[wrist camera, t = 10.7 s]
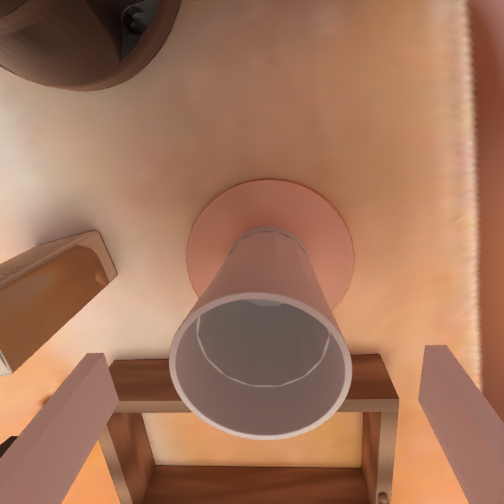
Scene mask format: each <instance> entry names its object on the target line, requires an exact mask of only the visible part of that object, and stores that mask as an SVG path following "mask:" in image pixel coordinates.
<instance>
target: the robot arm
mask: <svg viewBox="0 0 504 504" xmlns="http://www.w3.org/2000/svg"><path fill="white" fill-rule="evenodd" d="M179 3H180V0H0V67H2V68H4V69H5V70H7V71H9V72H11V73H13V74H15V75H17V76H19V77H22V78H24V79H26V80H29V81H32V82H34V83H37V84H41V85H45V86H50V87H55V88H61V89H67V90H73V91H95V90H101V89H105V88H109V87H112V86H115V85H118V84H120V83H122V82H124V81H126V80H128V79H129V78H131V77H132V76H134V75H135V74H137V73H138V72H139V71H140V70H142V69H143V68H144V67H145V66H146V65H147V64H148V63H149V62H150V61H151V60H152V58H153V57H154V56H155V55H156V54H157V52H158V51H159V49H160V48H161V46H162V45H163V43H164V41H165V40H166V38H167V36H168V34H169V32H170V30H171V27H172V25H173V23H174V20H175V17H176V14H177V11H178V7H179ZM418 400H419V402H420V404H421V406H422V408H423V410H424V413H425V415H426V417H427V419H428V421H429V423H430V425H431V427H432V429H433V431H434V433H435V435H436V437H437V439H438V441H439V443H440V445H441V447H442V449H443V451H444V453H445V455H446V457H447V459H448V461H449V463H450V465H451V467H452V470H453V472H454V474H455V476H456V478H457V480H458V482H459V484H460V486H461V488H462V490H463V492H464V494H465V496H466V498H467V500H468V502H469V504H504V423H503V422H502V421H501V419H500V418H499V416H498V415H497V414H496V412H495V411H494V410H493V409H492V407H491V406H490V404H489V403H488V402H487V400H486V399H485V397H484V396H483V395H482V393H481V392H480V391H479V389H478V388H477V386H476V385H475V384H474V382H473V381H472V380H471V378H470V377H469V376H468V374H467V373H466V372H465V370H464V369H463V367H462V366H461V365H460V363H459V362H458V361H457V359H456V358H455V357H454V355H453V354H452V352H451V351H450V350H449V348H448V347H447V346H446V345H426V346H425V350H424V358H423V366H422V374H421V382H420V390H419V398H418ZM118 403H119V399H118V396H117V393H116V390H115V387H114V384H113V381H112V377H111V374H110V371H109V368H108V365H107V362H106V359H105V355H104V353H87V354H86V355H85V357H84V358H83V359H82V360H81V361H80V363H79V364H78V365H77V366H76V367H75V369H74V370H73V371H72V372H71V373H70V375H69V376H68V377H67V378H66V379H65V381H64V382H63V383H62V384H61V385H60V387H59V388H58V389H57V390H56V392H55V393H54V394H53V395H52V396H51V398H50V399H49V400H48V401H47V402H46V404H45V405H44V406H43V407H42V408H41V410H40V411H39V412H38V413H37V414H36V416H35V417H34V418H33V419H32V421H31V422H30V423H29V424H28V425H27V427H26V428H25V429H24V430H23V431H22V433H21V434H20V435H19V436H11V437H10V438H8V439H7V440H6V441H5V442H3V443H2V444H1V445H0V504H61V503H62V501H63V499H64V498H65V496H66V494H67V492H68V491H69V489H70V487H71V485H72V484H73V482H74V480H75V478H76V477H77V475H78V473H79V471H80V470H81V468H82V466H83V464H84V463H85V461H86V459H87V457H88V456H89V454H90V452H91V450H92V449H93V447H94V445H95V443H96V442H97V440H98V438H99V436H100V435H101V433H102V431H103V429H104V428H105V426H106V424H107V422H108V421H109V419H110V417H111V415H112V414H113V412H114V410H115V408H116V407H117V405H118Z"/></svg>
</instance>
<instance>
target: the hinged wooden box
mask: <svg viewBox="0 0 504 504" xmlns="http://www.w3.org/2000/svg"><path fill="white" fill-rule="evenodd" d="M350 356H351V361H352V380H351V385H350V388H349V391H348V394H347V396H346V398H345V400H344V402H343V403H342V405H341V406H340V408H339V409H338V410H337V411H336V412H363V439H362V466H361V469H360V468H289V467H219V466H155V462H154V458H153V455H152V451H151V448H150V444H149V440H148V437H147V433H146V430H145V426H144V422H143V419H142V415H141V413H174V412H192V411H191V410H190V409H189V408H188V407H187V406H186V404H185V403H184V402H183V401H182V399H181V398H180V396H179V395H178V393H177V391H176V389H175V387H174V384H173V382H172V379H171V375H170V369H169V359H153V360H114V361H113V363H112V364H111V366H110V367H109V371H110V374H111V377H112V381H113V384H114V387H115V390H116V393H117V396H118V399H119V403H118V405H117V407H116V408H115V410H114V412H113V414H112V415H111V417H110V419H109V421H108V422H107V424H106V426H105V428H104V429H103V431H102V433H101V435H100V436H99V438H98V440H99V443H100V446H101V449H102V452H103V454H104V457H105V460H106V463H107V466H108V469H109V472H110V474H111V477H112V480H113V483H114V486H115V489H116V492H117V494H118V497H119V500H120V503H121V504H390V501H391V490H392V478H393V466H394V455H395V443H396V431H397V420H398V408H399V397H398V395H397V393H396V390H395V388H394V386H393V384H392V381H391V379H390V377H389V374H388V372H387V370H386V368H385V365H384V363H383V361H382V358H381V356H380V354H377V355H350Z"/></svg>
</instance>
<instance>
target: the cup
mask: <svg viewBox="0 0 504 504" xmlns="http://www.w3.org/2000/svg"><path fill="white" fill-rule="evenodd" d="M169 369H170V375H171V379H172V382H173V384H174V387H175V389H176V391H177V393H178V395H179V396H180V398H181V399H182V401H183V402H184V403H185V404H186V406H187V407H188V408H189V409H190V410H191V411H192V412H193V413H194V414H195V415H196V416H198V417H199V418H200V419H202V420H203V421H204V422H206V423H207V424H209V425H211V426H213V427H214V428H216V429H218V430H221V431H223V432H226V433H228V434H231V435H234V436H238V437H242V438H248V439H255V440H278V439H285V438H290V437H294V436H297V435H301V434H303V433H306V432H308V431H310V430H312V429H314V428H316V427H318V426H320V425H321V424H323V423H324V422H325V421H327V420H328V419H329V418H330V417H331V416H332V415H333V414H334V413H335V412H336V411H337V410H338V409H339V408H340V406H341V405H342V403H343V402H344V400H345V398H346V396H347V394H348V391H349V388H350V385H351V380H352V361H351V356H350V352H349V349H348V346H347V344H346V342H345V340H344V338H343V335H342V333H341V331H340V329H339V327H338V324H337V322H336V320H335V318H334V316H333V313H332V311H331V309H330V307H329V305H328V303H327V300H326V298H325V296H324V293H323V291H322V289H321V286H320V284H319V281H318V279H317V277H316V274H315V272H314V270H313V267H312V265H311V263H310V260H309V255H308V252H307V250H306V248H305V246H304V244H303V243H302V241H301V240H300V239H299V238H298V237H297V236H296V235H294V234H293V233H291V232H290V231H288V230H286V229H283V228H280V227H276V226H260V227H256V228H253V229H251V230H249V231H247V232H245V233H244V234H242V235H241V236H240V237H239V238H238V239H237V240H236V241H235V243H234V244H233V246H232V248H231V250H230V252H229V255H228V257H227V258H226V260H225V261H224V263H223V264H222V266H221V268H220V269H219V271H218V272H217V274H216V275H215V277H214V278H213V280H212V282H211V283H210V285H209V286H208V288H207V289H206V290H205V291H204V293H203V294H202V295H201V297H200V298H199V300H198V301H197V302H196V304H195V305H194V307H193V308H192V310H191V311H190V313H189V314H188V316H187V317H186V318H185V320H184V321H183V323H182V324H181V326H180V327H179V329H178V330H177V332H176V334H175V336H174V338H173V341H172V344H171V348H170V353H169Z"/></svg>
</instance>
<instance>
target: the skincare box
mask: <svg viewBox="0 0 504 504" xmlns="http://www.w3.org/2000/svg"><path fill="white" fill-rule="evenodd" d="M116 276H117V273H116V271H115V268H114V266H113V263H112V261H111V259H110V256H109V254H108V252H107V249H106V247H105V245H104V243H103V241H102V238H101V236H100V234H99V232H98V231H91V232H86V233H82V234H78V235H74V236H71V237H67V238H63V239H60V240H56V241H53V242H49V243H46V244H43V245H40V246H37V247H34V248H32V249H30V250H28V251H26V252H24V253H22V254H20V255H18V256H16V257H14V258H12V259H10V260H8V261H6V262H3V263H1V264H0V377H2V376H7V375H11V374H13V372H15V371H16V370H17V369H18V368H19V367H20V366H21V365H22V364H23V363H24V362H25V361H26V360H27V359H28V358H30V357H31V356H32V355H33V354H34V353H35V352H36V351H37V350H38V349H39V348H40V347H41V346H43V345H44V344H45V343H46V342H47V341H48V340H49V339H50V338H51V337H52V336H53V335H54V334H55V333H56V332H57V331H58V330H60V329H61V328H62V327H63V326H64V325H65V324H66V323H67V322H68V321H69V320H70V319H71V318H72V317H73V316H75V315H76V314H77V313H78V312H79V311H80V310H81V309H82V308H83V307H84V306H85V305H86V304H87V303H88V302H90V301H91V300H92V299H93V298H94V297H95V296H96V295H97V294H98V293H99V292H100V291H101V290H102V289H103V288H105V287H106V286H107V285H108V284H109V283H110V282H111V281H112V280H113V279H114V278H115V277H116Z"/></svg>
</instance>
